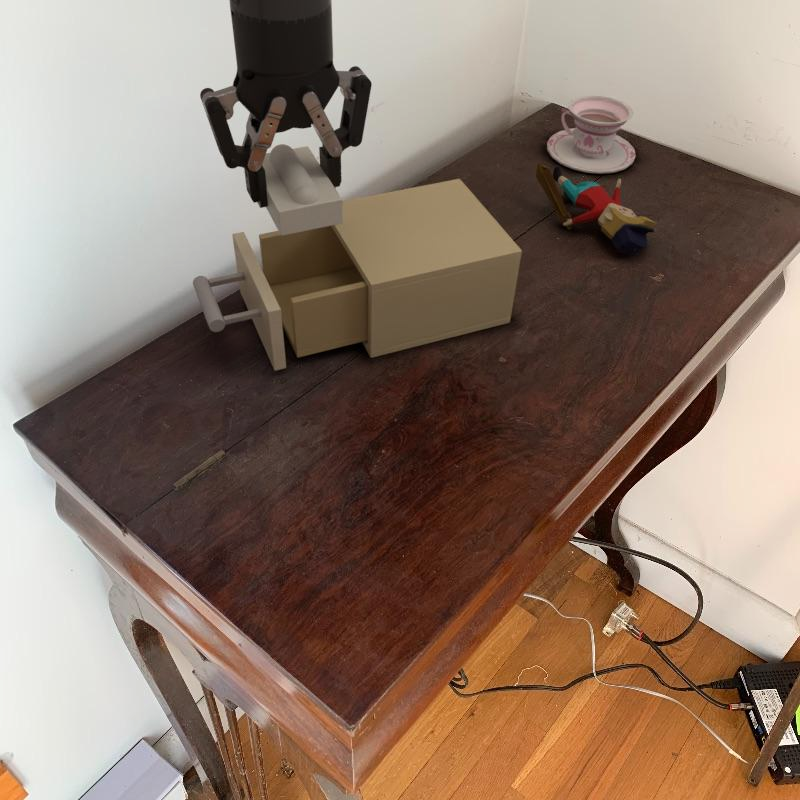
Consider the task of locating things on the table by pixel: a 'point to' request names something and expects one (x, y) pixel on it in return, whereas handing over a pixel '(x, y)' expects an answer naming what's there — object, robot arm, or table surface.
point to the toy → (597, 210)
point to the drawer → (294, 293)
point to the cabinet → (429, 264)
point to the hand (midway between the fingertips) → (295, 195)
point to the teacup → (593, 136)
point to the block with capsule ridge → (299, 191)
